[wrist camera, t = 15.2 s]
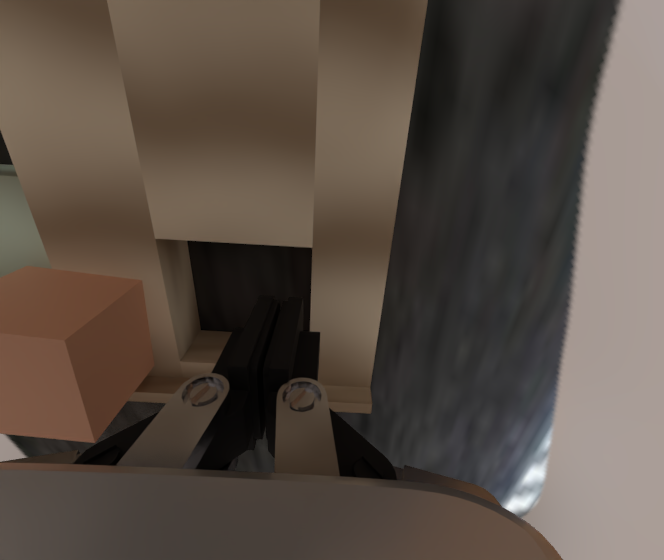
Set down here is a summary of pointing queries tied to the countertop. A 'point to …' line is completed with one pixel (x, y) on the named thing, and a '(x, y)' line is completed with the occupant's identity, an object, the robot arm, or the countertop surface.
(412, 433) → the countertop surface
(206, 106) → the wooden cubby shelf
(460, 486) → the robot arm
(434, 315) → the countertop surface
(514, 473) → the countertop surface
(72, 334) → the block
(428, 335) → the countertop surface
